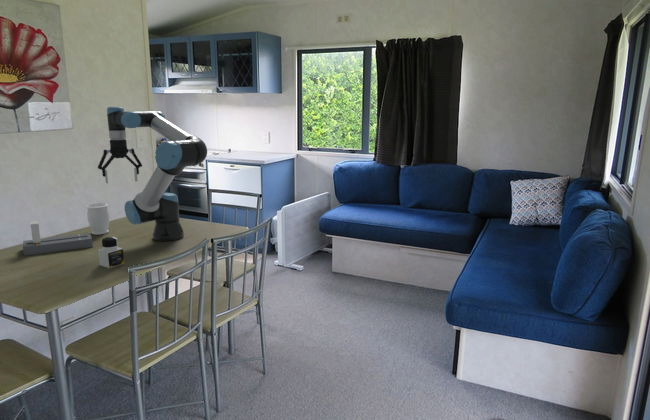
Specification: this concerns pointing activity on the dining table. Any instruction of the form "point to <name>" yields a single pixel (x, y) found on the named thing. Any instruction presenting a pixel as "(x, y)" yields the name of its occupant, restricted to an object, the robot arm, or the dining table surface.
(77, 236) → the slider console
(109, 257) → the medicine bottle
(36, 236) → the fader tab
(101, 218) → the jar
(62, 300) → the dining table surface
